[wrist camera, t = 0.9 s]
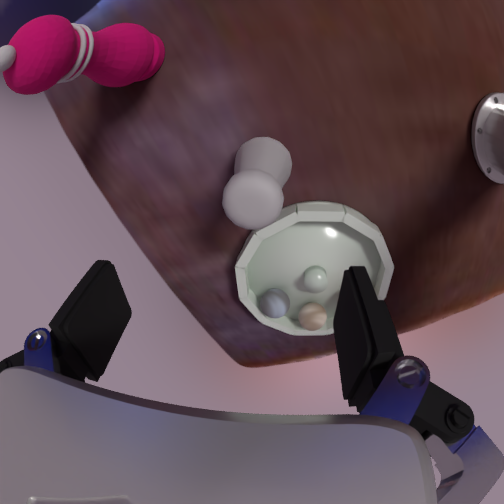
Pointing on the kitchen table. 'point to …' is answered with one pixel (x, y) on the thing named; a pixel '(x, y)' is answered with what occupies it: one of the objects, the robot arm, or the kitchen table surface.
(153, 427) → the robot arm
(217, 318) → the kitchen table surface
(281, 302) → the dusty blue bead
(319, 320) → the bead cream
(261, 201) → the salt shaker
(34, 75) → the pepper mill
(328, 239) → the tray
